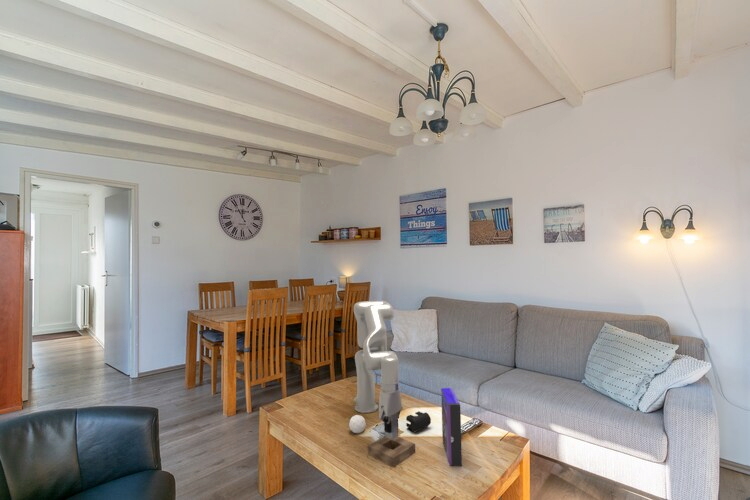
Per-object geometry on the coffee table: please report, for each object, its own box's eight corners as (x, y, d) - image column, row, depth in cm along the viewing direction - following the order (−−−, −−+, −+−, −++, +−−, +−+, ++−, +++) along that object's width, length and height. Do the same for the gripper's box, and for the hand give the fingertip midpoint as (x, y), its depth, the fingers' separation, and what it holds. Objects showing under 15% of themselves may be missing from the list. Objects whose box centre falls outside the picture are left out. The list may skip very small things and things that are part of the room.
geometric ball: (360, 439, 168) (362, 430, 163) (345, 431, 170) (346, 422, 166) (367, 425, 174) (369, 416, 169) (352, 417, 176) (354, 408, 171)
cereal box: (442, 442, 158) (441, 388, 159) (453, 442, 158) (452, 387, 158) (449, 466, 141) (448, 404, 141) (461, 466, 141) (460, 404, 141)
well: (368, 454, 151) (368, 445, 151) (390, 440, 161) (390, 432, 161) (393, 467, 141) (393, 458, 141) (415, 452, 151) (415, 443, 151)
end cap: (416, 435, 165) (416, 420, 165) (405, 429, 171) (405, 415, 171) (431, 428, 172) (430, 414, 172) (420, 423, 177) (420, 409, 177)
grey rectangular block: (385, 436, 151) (384, 412, 151) (391, 432, 154) (390, 409, 154) (392, 439, 148) (391, 415, 148) (398, 435, 151) (397, 412, 151)
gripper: (396, 378, 160) (397, 420, 160) (369, 389, 148) (371, 434, 148) (409, 382, 155) (410, 425, 155) (383, 394, 143) (384, 440, 142)
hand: (391, 429), depth 151 cm, fingers closed on grey rectangular block, 4 cm apart
